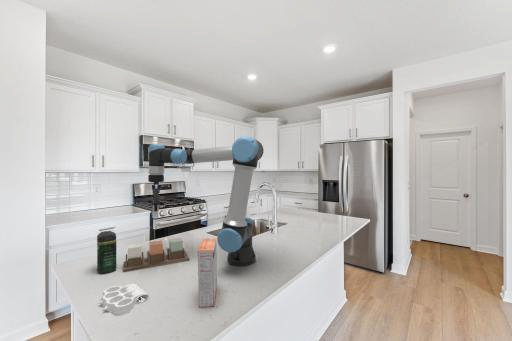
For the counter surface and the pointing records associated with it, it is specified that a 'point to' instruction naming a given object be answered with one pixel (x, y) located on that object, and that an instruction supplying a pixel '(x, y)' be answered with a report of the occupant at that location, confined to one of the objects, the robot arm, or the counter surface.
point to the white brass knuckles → (122, 298)
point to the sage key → (175, 244)
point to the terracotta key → (155, 247)
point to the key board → (154, 260)
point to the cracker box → (207, 272)
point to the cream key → (134, 250)
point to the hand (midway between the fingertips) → (155, 214)
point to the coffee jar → (106, 252)
